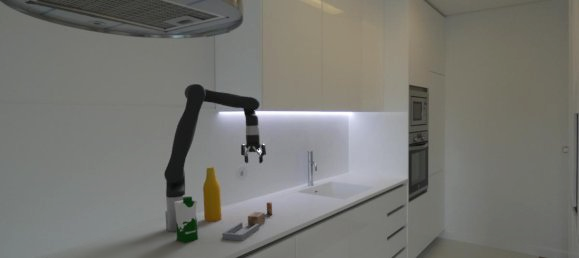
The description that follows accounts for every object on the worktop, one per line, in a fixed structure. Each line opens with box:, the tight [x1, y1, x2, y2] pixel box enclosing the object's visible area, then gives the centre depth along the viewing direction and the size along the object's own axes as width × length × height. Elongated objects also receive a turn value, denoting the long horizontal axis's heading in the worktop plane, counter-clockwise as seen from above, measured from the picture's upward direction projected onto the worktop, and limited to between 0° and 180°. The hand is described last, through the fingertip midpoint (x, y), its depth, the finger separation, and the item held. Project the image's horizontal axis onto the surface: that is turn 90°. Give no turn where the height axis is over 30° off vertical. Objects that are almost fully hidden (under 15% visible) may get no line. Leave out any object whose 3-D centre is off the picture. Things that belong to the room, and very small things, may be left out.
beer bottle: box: [202, 166, 222, 223], centre depth 196 cm, size 9×9×29 cm
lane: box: [221, 222, 260, 241], centre depth 171 cm, size 10×17×2 cm, turn 159°
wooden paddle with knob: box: [247, 201, 273, 227], centre depth 193 cm, size 6×23×7 cm, turn 160°
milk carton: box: [174, 196, 199, 244], centre depth 165 cm, size 9×9×20 cm
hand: (253, 162), depth 199 cm, fingers open, 8 cm apart
